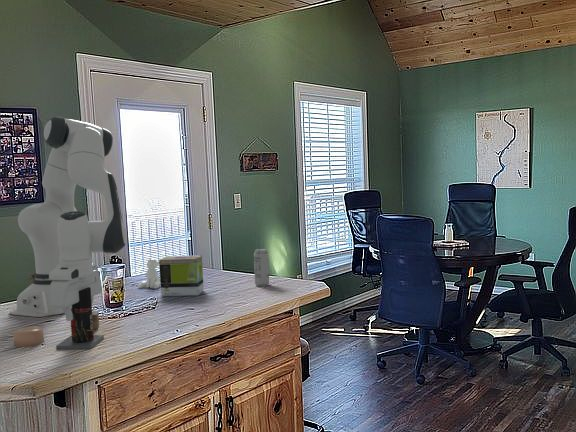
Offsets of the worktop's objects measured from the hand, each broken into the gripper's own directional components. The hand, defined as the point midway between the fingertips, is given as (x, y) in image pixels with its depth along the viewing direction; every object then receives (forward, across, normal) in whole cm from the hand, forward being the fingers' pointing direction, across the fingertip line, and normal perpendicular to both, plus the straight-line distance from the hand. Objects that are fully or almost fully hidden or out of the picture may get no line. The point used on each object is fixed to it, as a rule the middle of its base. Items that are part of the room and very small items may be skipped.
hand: (79, 316), depth 167 cm
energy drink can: (+8, -84, +32) cm, 90 cm away
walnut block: (+8, -15, -6) cm, 18 cm away
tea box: (+8, -66, +4) cm, 67 cm away
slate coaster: (+8, 0, 0) cm, 8 cm away
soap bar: (+4, +1, -16) cm, 17 cm away
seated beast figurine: (+8, -78, -15) cm, 80 cm away
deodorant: (+7, 0, 0) cm, 7 cm away
